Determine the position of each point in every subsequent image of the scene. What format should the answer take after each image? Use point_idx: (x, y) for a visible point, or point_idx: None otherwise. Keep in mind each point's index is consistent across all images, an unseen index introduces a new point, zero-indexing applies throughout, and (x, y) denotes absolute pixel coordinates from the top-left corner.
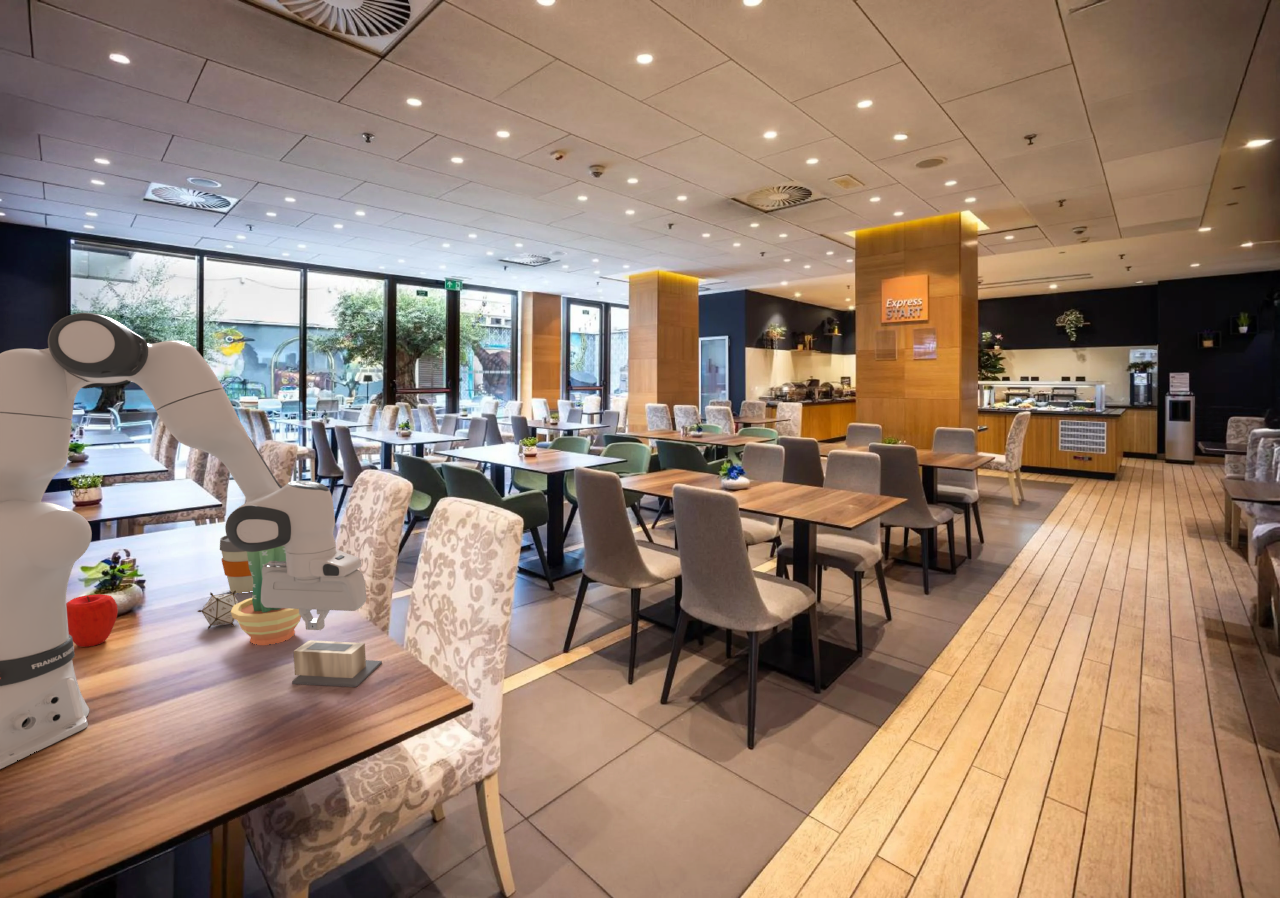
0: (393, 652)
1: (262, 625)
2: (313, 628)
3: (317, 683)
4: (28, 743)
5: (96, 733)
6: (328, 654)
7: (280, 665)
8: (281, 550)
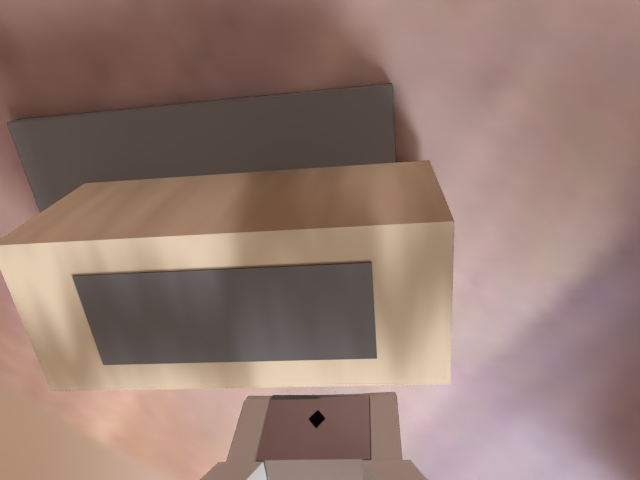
0: (132, 436)
1: None
2: (308, 402)
3: (230, 99)
4: None
5: None
6: (167, 231)
7: (601, 264)
8: None
